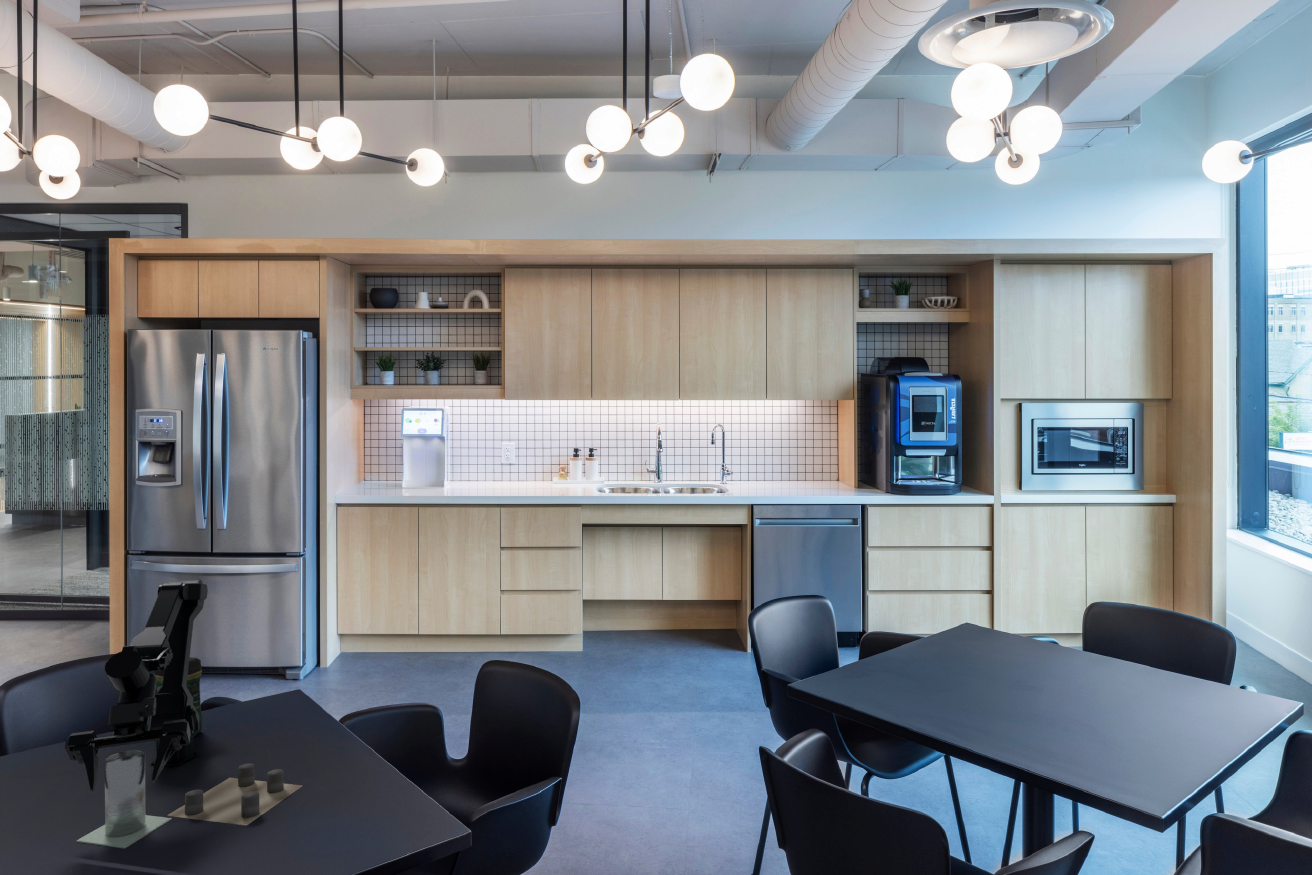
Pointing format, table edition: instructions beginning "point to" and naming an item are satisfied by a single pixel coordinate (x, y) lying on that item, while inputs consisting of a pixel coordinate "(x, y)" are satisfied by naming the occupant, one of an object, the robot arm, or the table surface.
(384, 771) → the table surface
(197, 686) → the coffee jar
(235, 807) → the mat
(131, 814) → the clear upright cylinder
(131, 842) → the sage pad
